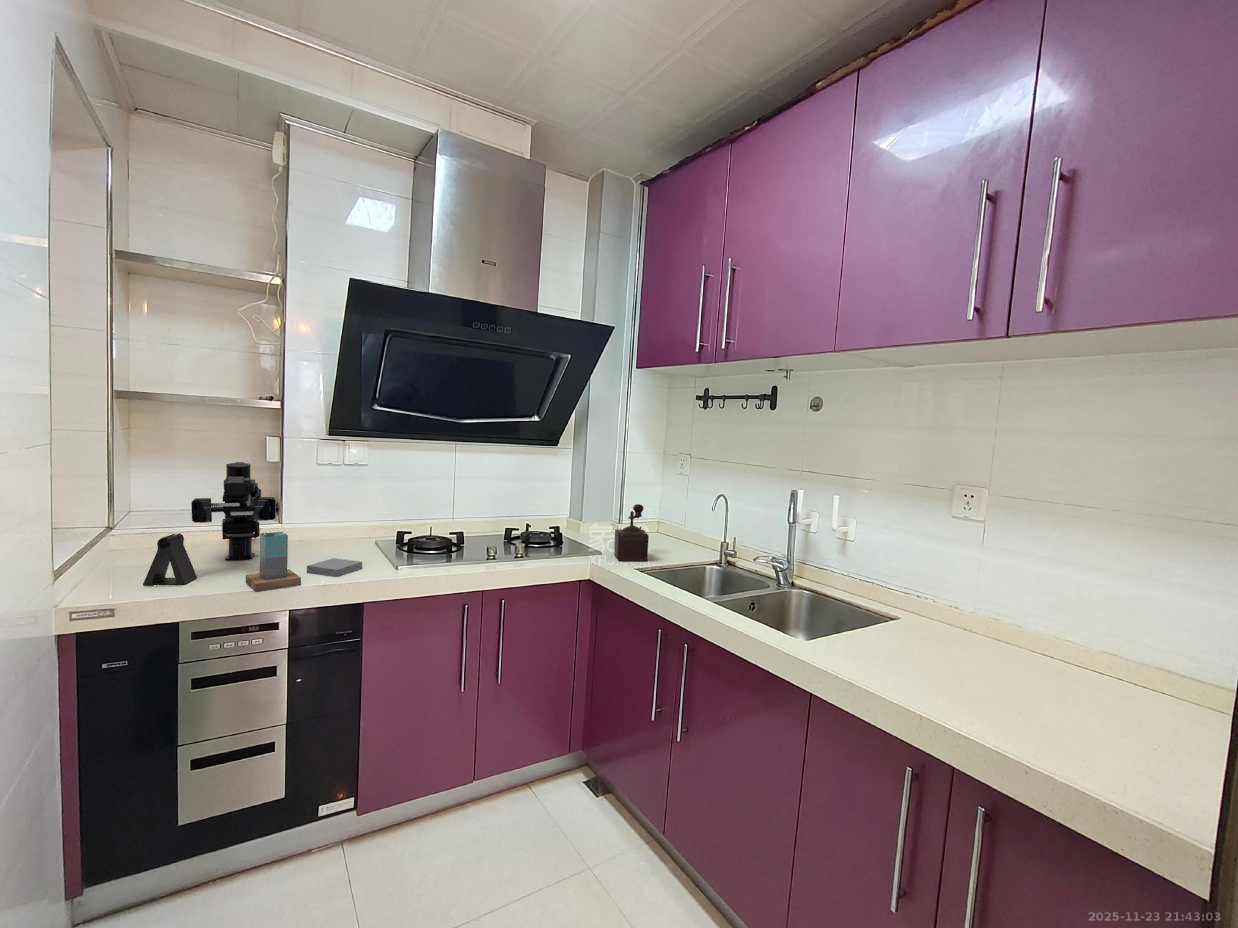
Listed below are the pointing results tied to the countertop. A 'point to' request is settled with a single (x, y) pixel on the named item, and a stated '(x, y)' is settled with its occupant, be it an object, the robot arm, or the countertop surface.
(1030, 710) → the countertop surface
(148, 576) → the phone stand
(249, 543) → the robot arm
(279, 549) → the block
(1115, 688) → the countertop surface
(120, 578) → the countertop surface
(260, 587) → the stand
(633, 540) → the manual coffee grinder
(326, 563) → the stand
